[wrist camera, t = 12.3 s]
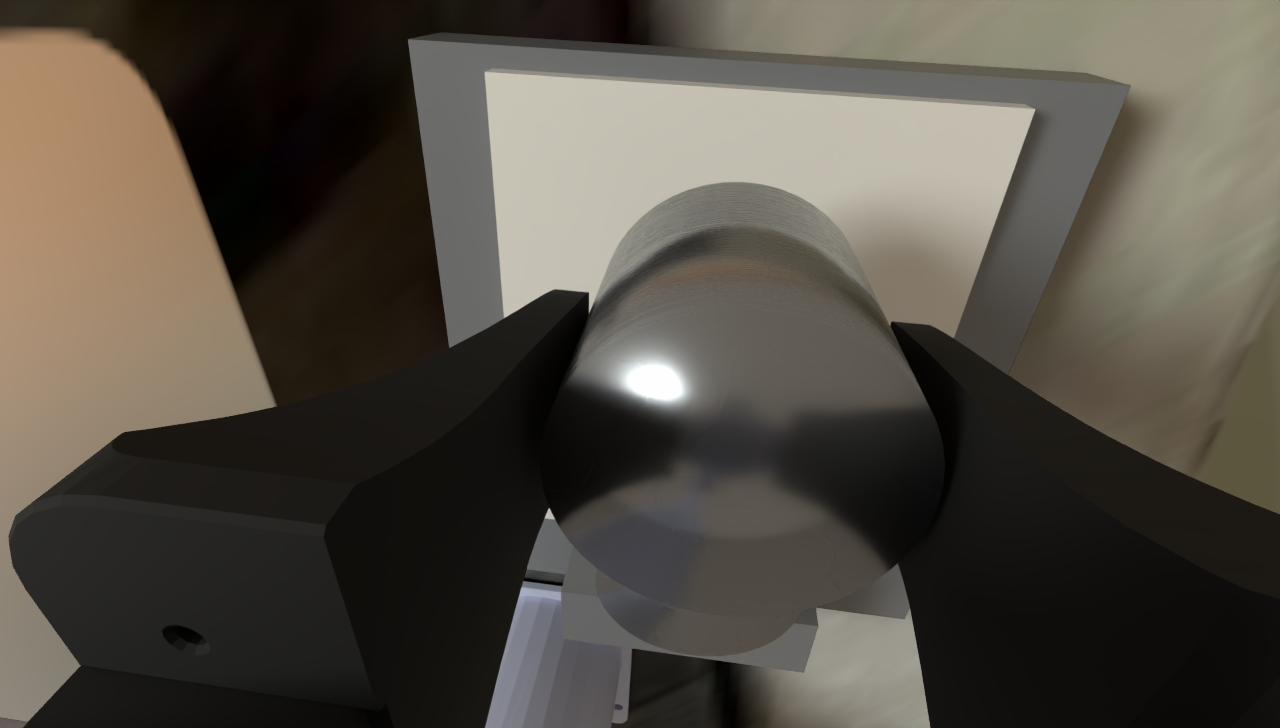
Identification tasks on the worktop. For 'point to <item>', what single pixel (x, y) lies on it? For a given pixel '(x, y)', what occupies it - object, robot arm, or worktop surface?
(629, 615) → the cylinder
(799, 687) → the worktop surface
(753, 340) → the cylinder
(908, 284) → the kitchen scale
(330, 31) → the worktop surface
